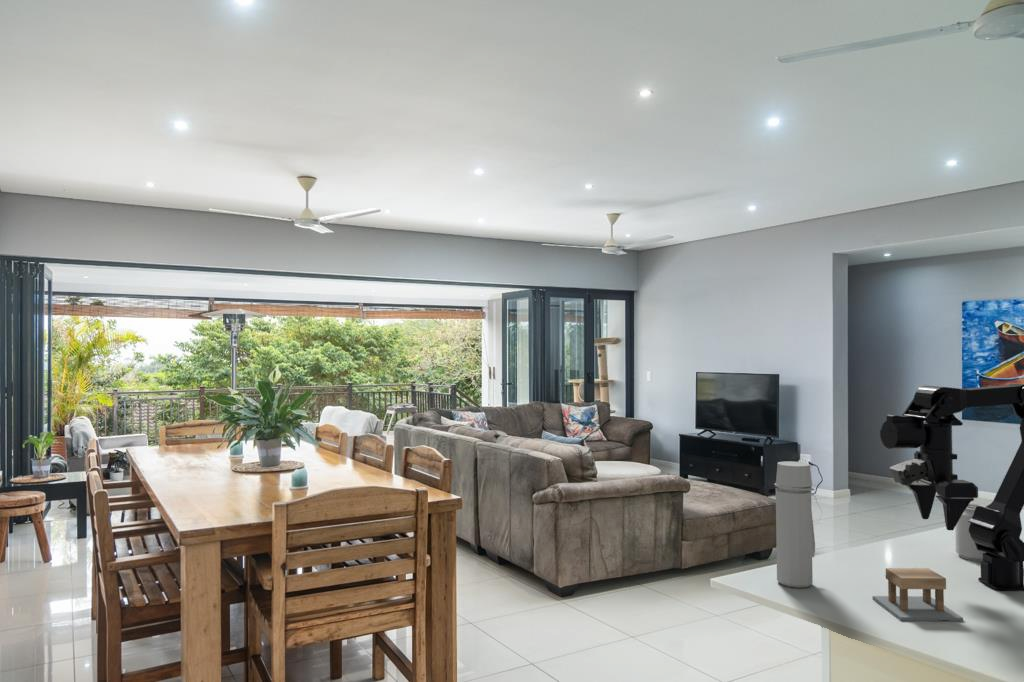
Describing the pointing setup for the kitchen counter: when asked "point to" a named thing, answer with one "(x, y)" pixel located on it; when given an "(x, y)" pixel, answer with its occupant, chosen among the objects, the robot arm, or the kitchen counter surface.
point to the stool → (915, 585)
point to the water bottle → (794, 524)
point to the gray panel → (917, 609)
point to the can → (967, 536)
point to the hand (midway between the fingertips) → (937, 524)
